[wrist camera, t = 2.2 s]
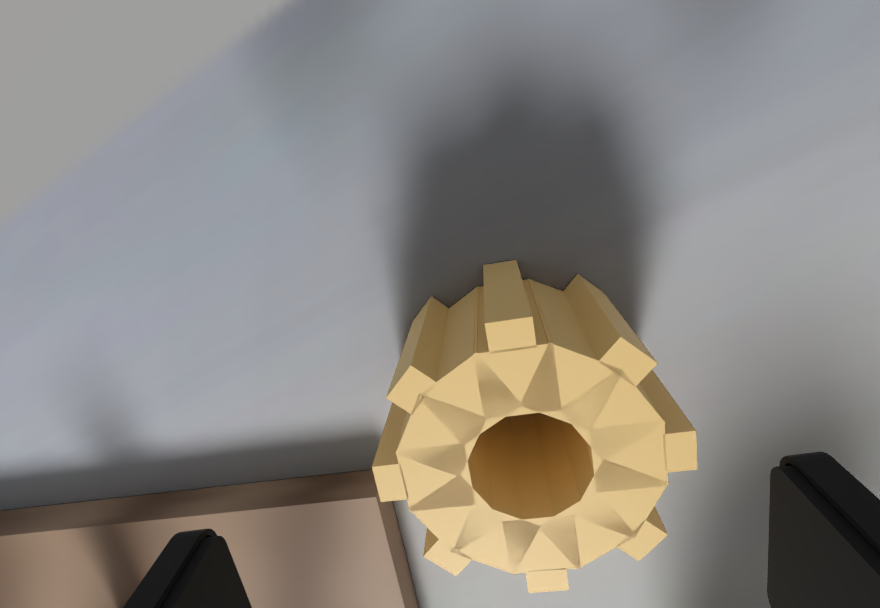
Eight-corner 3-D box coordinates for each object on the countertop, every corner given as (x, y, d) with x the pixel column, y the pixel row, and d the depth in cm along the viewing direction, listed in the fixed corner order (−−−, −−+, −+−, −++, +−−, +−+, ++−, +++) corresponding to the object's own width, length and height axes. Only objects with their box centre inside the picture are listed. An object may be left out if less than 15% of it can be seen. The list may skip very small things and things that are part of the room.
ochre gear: (625, 242, 15) (691, 293, 10) (640, 456, 17) (701, 579, 13) (381, 280, 16) (340, 344, 11) (425, 479, 18) (406, 602, 13)
